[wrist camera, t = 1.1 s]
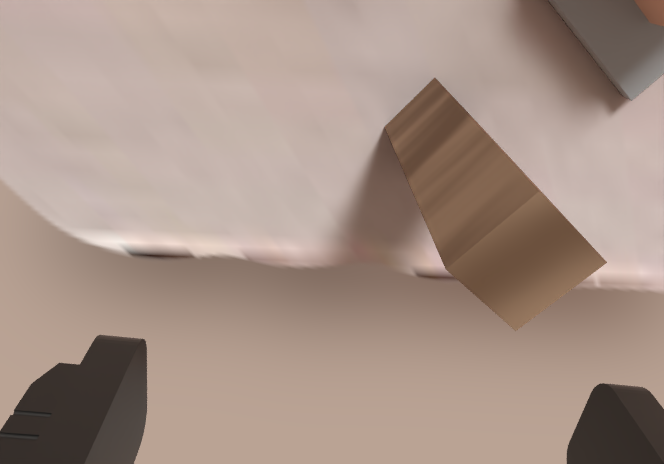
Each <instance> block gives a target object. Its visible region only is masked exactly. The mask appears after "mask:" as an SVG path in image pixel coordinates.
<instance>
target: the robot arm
mask: <svg viewBox="0 0 664 464" xmlns="http://www.w3.org/2000/svg"><path fill="white" fill-rule="evenodd" d="M146 413H147V347H146V341H145V340H144V339H137V338H127V337H117V336H105V335H99V336H97V337H96V338H95V340H94V341H93V343H92V345H91V347H90V348H89V350H88V352H87V353H86V355H85V357H84V359H83V360H82V362H81V364H80V365H76V364H64V363H59V364H57V365H56V366H55V367H53V368H52V369H51V370H49V371H48V372H47V373H45V374H44V375H43V376H41V377H40V378H39V379H37V380H36V381H35V382H33V383H32V384H31V386H30V387H29V389H28V390H27V391H26V393H25V394H24V396H23V398H22V399H21V400H20V402H19V403H18V405H17V406H16V408H15V410H14V414H13V415H10V417H9V419H8V420H7V421H6V423H5V425H4V426H3V428H2V429H1V431H0V464H134V461H135V458H136V456H137V453H138V450H139V447H140V444H141V441H142V436H143V433H144V427H145V422H146ZM567 464H664V409H663V408H662V406H661V405H660V404H659V403H658V401H657V400H656V399H655V397H654V396H653V395H652V394H651V392H650V391H648V390H647V389H645V388H643V387H635V386H625V385H614V384H599V385H597V386H596V387H595V388H594V389H593V391H592V392H591V395H590V397H589V399H588V401H587V404H586V406H585V408H584V411H583V413H582V415H581V417H580V419H579V422H578V424H577V427H576V429H575V431H574V433H573V436H572V438H571V440H570V442H569V445H568V449H567Z"/></svg>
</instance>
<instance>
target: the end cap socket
mask: <svg viewBox="0 0 664 464" xmlns="http://www.w3.org/2000/svg"><path fill="white" fill-rule="evenodd" d="M548 1H549V2H550V3H551V5H552V6H553V7H554V9H555V10H556V11H557V12H558V14H559V15H560V16H561V18H562V19H563V20H564V21H565V23H566V24H567V25H568V27H569V28H570V29H571V30H572V32H573V33H574V34H575V36H576V37H577V38H578V39H579V41H580V42H581V43H582V45H583V46H584V47H585V48H586V50H587V51H588V52H589V53H590V55H591V56H592V57H593V59H594V60H595V61H596V62H597V64H598V65H599V66H600V68H601V69H602V70H603V71H604V73H605V74H606V75H607V77H608V78H609V79H610V80H611V82H612V83H613V84H614V86H615V87H616V88H617V89H618V91H619V92H620V93H621V95H622V96H623V97H625V98H627V99H629V100H631V101H632V100H633V99H634V98H636V97H637V96H638V95H639V94H640V93H641V92H643V91H644V90H645V89H646V88H647V87H649V86H650V85H651V84H652V83H653V82H655V81H656V80H657V79H658V78H659V77H660V76H662V75H663V74H664V0H548Z"/></svg>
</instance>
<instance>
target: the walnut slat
mask: <svg viewBox="0 0 664 464" xmlns="http://www.w3.org/2000/svg"><path fill="white" fill-rule="evenodd" d="M385 129H386V132H387V134H388V136H389V139H390V141H391V143H392V146H393V148H394V150H395V152H396V155H397V157H398V159H399V162H400V164H401V166H402V169H403V171H404V173H405V176H406V178H407V180H408V183H409V185H410V187H411V190H412V192H413V194H414V197H415V199H416V201H417V203H418V206H419V208H420V210H421V213H422V215H423V217H424V220H425V222H426V224H427V227H428V229H429V231H430V234H431V236H432V238H433V241H434V243H435V245H436V248H437V250H438V252H439V254H440V257H441V259H442V261H443V264H444V266H445V268H446V270H447V271H448V272H450V273H451V274H452V275H453V276H454V277H455V278H456V279H457V280H459V281H460V282H461V283H462V284H463V285H464V286H465V287H467V288H468V289H469V290H470V291H471V292H472V293H473V294H475V295H476V296H477V297H478V298H479V299H480V300H481V301H482V302H483V303H485V304H486V305H487V306H488V307H489V308H490V309H492V311H494V312H495V313H496V314H497V315H498V316H499V317H500V318H502V319H503V320H504V321H505V322H506V323H507V324H508V325H509V326H511V327H512V328H513V329H514V330H515V331H516V330H518V329H519V328H520V327H522V326H523V325H524V324H526V323H527V322H528V321H529V320H531V319H532V318H534V317H535V316H536V315H538V314H539V313H540V312H542V311H543V310H544V309H546V308H547V307H548V306H549V305H551V304H552V303H554V302H555V301H556V300H558V299H559V298H560V297H562V296H563V295H564V294H566V293H567V292H568V291H570V290H571V289H572V288H574V287H575V286H576V285H578V284H579V283H580V282H582V281H583V280H584V279H586V278H587V277H588V276H590V275H591V274H592V273H594V272H595V271H596V270H598V269H599V268H600V267H602V266H603V265H604V264H606V263H607V262H606V261H605V260H604V259H603V258H602V257H601V255H600V254H599V253H598V252H597V251H596V250H595V249H594V248H593V247H592V246H591V245H590V244H589V243H588V241H587V240H586V239H585V238H584V237H583V236H582V235H581V234H580V233H579V232H578V231H577V230H576V229H575V227H574V226H573V225H572V224H571V223H570V222H569V221H568V220H567V219H566V218H565V217H564V216H563V215H562V213H561V212H560V211H559V210H558V209H557V208H556V207H555V206H554V205H553V204H552V203H551V202H550V200H549V199H548V198H547V197H546V196H545V195H544V194H543V193H542V192H541V191H540V190H539V189H538V188H537V186H536V185H535V184H534V183H533V182H532V181H531V180H530V179H529V178H528V177H527V176H526V175H525V174H524V172H523V171H522V170H521V169H520V168H519V167H518V166H517V165H516V164H515V163H514V162H513V161H512V160H511V158H510V157H509V156H508V155H507V154H506V153H505V152H504V151H503V150H502V149H501V148H500V147H499V146H498V144H497V143H496V142H495V141H494V140H493V139H492V138H491V137H490V136H489V135H488V134H487V133H486V132H485V130H484V129H483V128H482V127H481V126H480V125H479V124H478V123H477V122H476V121H475V120H474V119H473V118H472V117H471V115H470V114H469V113H468V112H467V111H466V110H465V109H464V108H463V107H462V106H461V105H460V104H459V103H458V102H457V101H456V99H455V98H454V97H453V96H452V95H451V94H450V93H449V92H448V91H447V90H446V89H445V88H444V87H443V86H442V85H441V84H440V82H439V81H438V80H437V79H436V78H434V79H433V80H432V81H431V82H430V83H429V84H428V85H427V86H426V87H425V88H424V89H423V90H422V91H421V92H420V93H419V94H418V95H417V96H416V97H415V98H414V99H413V100H412V101H411V102H410V103H408V104H407V105H406V106H405V107H404V108H403V109H402V110H401V111H400V112H399V113H398V114H397V115H396V116H395V117H394V118H393V119H392V120H391V121H390V122H389V123H388V124H387V125H386V126H385Z"/></svg>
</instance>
